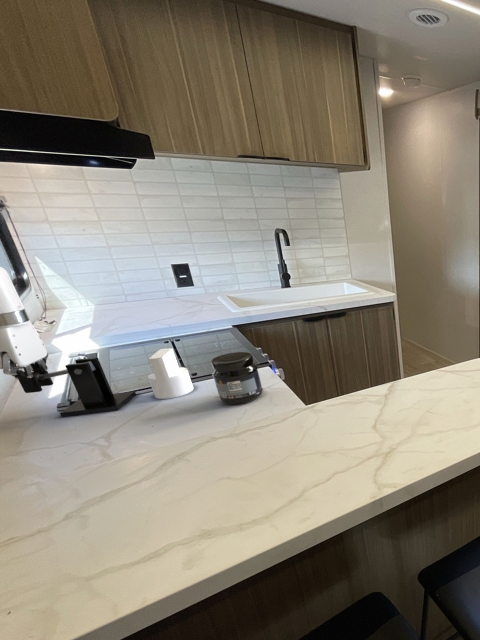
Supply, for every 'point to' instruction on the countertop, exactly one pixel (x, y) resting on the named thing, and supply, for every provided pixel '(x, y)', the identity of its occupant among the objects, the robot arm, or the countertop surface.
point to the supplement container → (236, 378)
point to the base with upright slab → (168, 375)
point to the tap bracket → (93, 390)
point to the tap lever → (55, 373)
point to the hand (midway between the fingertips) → (39, 388)
